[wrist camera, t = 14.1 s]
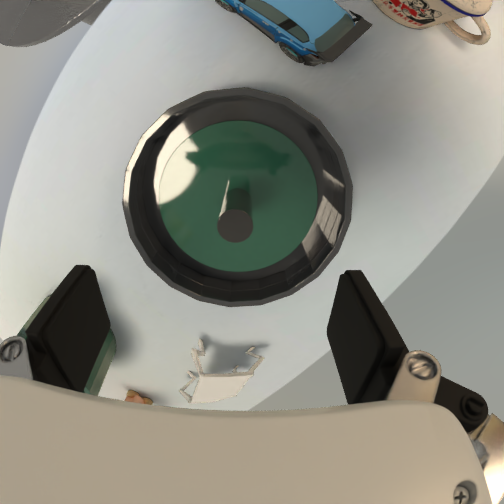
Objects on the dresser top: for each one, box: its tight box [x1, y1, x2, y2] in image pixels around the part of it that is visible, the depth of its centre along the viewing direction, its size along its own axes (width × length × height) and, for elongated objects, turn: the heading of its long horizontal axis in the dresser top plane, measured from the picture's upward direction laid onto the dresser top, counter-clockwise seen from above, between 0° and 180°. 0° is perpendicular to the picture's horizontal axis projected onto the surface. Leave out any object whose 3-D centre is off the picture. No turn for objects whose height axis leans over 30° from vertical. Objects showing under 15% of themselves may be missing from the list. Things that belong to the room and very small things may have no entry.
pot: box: [17, 295, 116, 396], centre depth 29 cm, size 13×18×10 cm
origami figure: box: [179, 339, 264, 404], centre depth 33 cm, size 12×8×5 cm
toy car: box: [215, 0, 372, 66], centre depth 15 cm, size 6×12×6 cm, turn 49°
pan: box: [122, 87, 353, 307], centre depth 23 cm, size 18×18×4 cm
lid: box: [159, 120, 318, 272], centre depth 22 cm, size 14×14×7 cm
